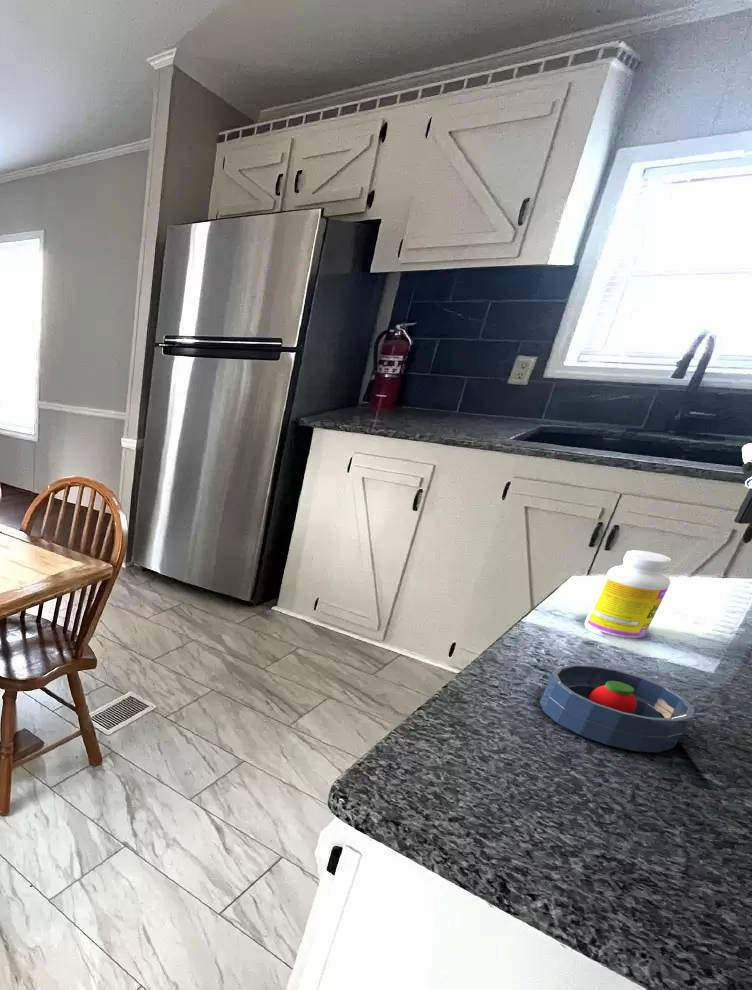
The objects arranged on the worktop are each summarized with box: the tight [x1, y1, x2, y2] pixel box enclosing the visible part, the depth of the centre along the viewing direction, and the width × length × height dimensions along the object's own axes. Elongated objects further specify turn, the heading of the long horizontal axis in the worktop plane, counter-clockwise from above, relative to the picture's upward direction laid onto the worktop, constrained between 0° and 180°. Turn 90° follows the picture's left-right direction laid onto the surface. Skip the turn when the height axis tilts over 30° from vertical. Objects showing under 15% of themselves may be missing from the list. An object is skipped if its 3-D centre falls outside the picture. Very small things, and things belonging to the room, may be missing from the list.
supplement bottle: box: [584, 549, 672, 639], centre depth 95 cm, size 7×7×13 cm
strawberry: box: [589, 681, 637, 714], centre depth 76 cm, size 4×4×5 cm
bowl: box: [539, 663, 695, 753], centre depth 76 cm, size 12×12×5 cm
